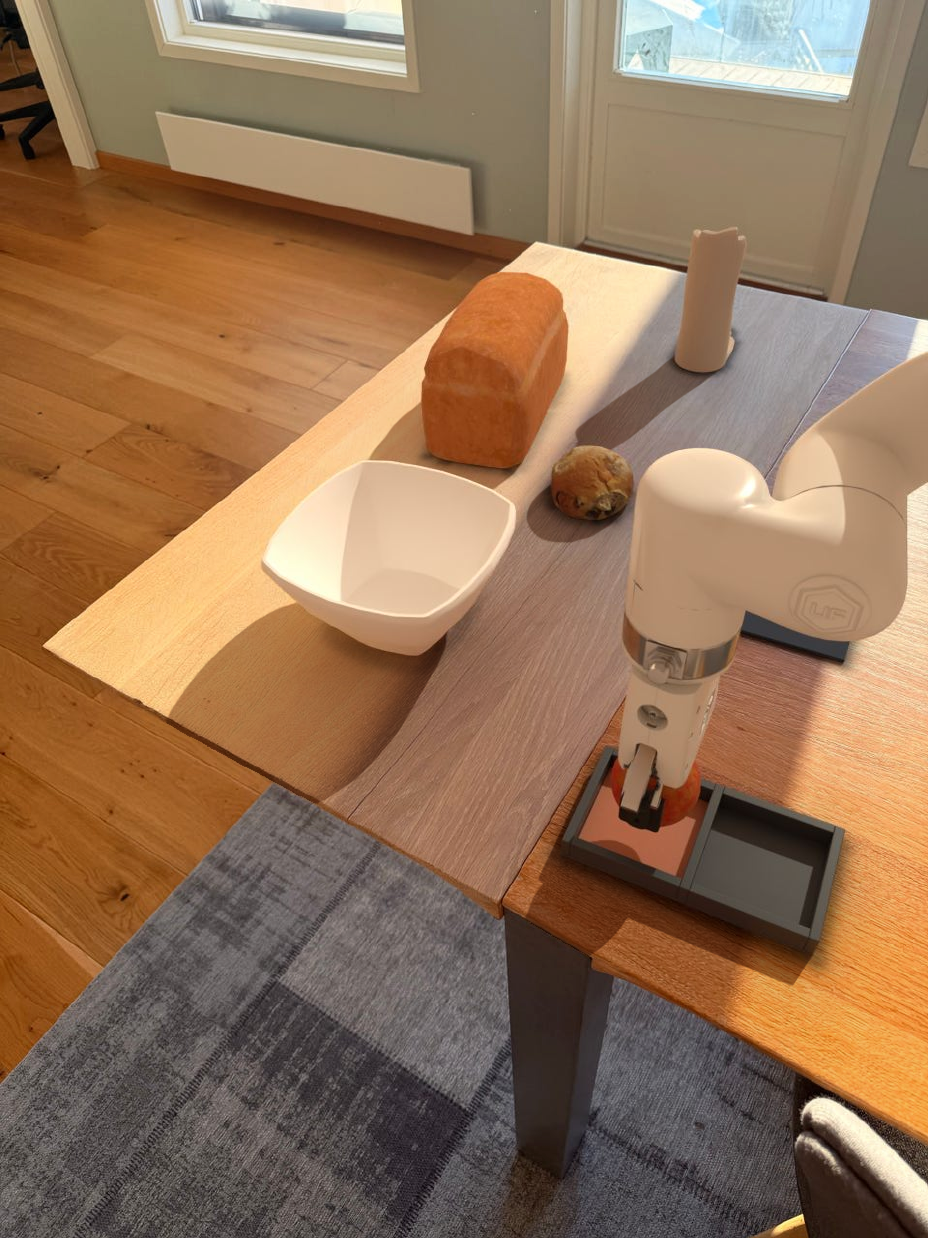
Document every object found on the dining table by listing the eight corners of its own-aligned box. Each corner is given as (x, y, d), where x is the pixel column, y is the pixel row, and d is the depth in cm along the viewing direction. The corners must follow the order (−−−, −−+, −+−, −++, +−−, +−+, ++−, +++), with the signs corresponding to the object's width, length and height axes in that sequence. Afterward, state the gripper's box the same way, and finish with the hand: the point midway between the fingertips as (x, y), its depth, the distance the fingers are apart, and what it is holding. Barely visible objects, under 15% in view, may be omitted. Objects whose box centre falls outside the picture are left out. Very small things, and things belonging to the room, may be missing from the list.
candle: (742, 332, 136) (769, 194, 122) (717, 376, 127) (743, 233, 113) (695, 323, 138) (716, 187, 124) (668, 366, 130) (686, 225, 116)
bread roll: (632, 510, 113) (642, 445, 110) (624, 528, 103) (634, 459, 100) (554, 499, 115) (561, 435, 112) (539, 516, 105) (547, 448, 103)
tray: (838, 843, 75) (845, 828, 73) (812, 956, 68) (819, 942, 67) (604, 760, 82) (606, 744, 80) (560, 854, 75) (561, 840, 73)
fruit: (706, 837, 72) (721, 778, 66) (620, 850, 71) (628, 792, 66) (679, 766, 77) (691, 706, 71) (599, 778, 76) (604, 718, 71)
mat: (870, 563, 99) (871, 560, 98) (843, 662, 89) (844, 660, 88) (690, 517, 106) (690, 515, 105) (646, 605, 96) (647, 602, 95)
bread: (571, 370, 130) (576, 261, 119) (522, 475, 113) (523, 359, 102) (479, 358, 134) (476, 252, 122) (418, 458, 116) (408, 345, 105)
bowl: (368, 527, 107) (355, 444, 98) (540, 581, 99) (542, 496, 91) (254, 652, 93) (229, 568, 85) (443, 726, 85) (435, 641, 77)
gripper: (699, 743, 53) (667, 894, 65) (769, 562, 64) (730, 721, 76) (579, 703, 55) (570, 856, 68) (665, 535, 66) (643, 694, 79)
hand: (654, 784), depth 72 cm, fingers closed on fruit, 7 cm apart
